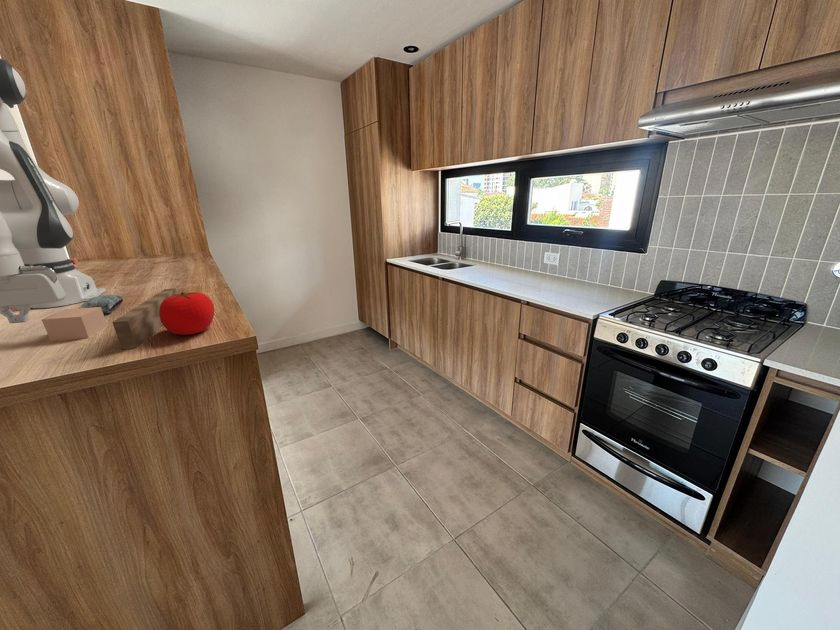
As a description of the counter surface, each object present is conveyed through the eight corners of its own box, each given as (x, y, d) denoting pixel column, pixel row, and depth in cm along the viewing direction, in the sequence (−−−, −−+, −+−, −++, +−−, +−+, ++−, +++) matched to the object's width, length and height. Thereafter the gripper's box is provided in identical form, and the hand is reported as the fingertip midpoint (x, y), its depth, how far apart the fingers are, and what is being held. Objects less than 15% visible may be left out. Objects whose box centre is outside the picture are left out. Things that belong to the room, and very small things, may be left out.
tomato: (160, 344, 81) (147, 301, 77) (171, 326, 92) (160, 288, 88) (215, 336, 86) (206, 295, 82) (220, 320, 97) (211, 283, 93)
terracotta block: (73, 330, 90) (65, 309, 88) (107, 327, 92) (100, 306, 90) (50, 341, 83) (41, 319, 81) (89, 338, 85) (80, 316, 83)
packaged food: (76, 319, 97) (70, 303, 96) (93, 308, 108) (88, 293, 106) (113, 315, 101) (108, 300, 99) (126, 305, 111) (122, 291, 109)
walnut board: (170, 310, 105) (164, 289, 103) (181, 309, 106) (175, 288, 104) (121, 349, 78) (112, 322, 76) (136, 347, 79) (127, 320, 77)
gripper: (60, 262, 84) (79, 313, 88) (-48, 268, 78) (-22, 322, 82) (42, 267, 78) (63, 321, 82) (-77, 273, 72) (-47, 331, 77)
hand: (20, 322), depth 82 cm, fingers closed
